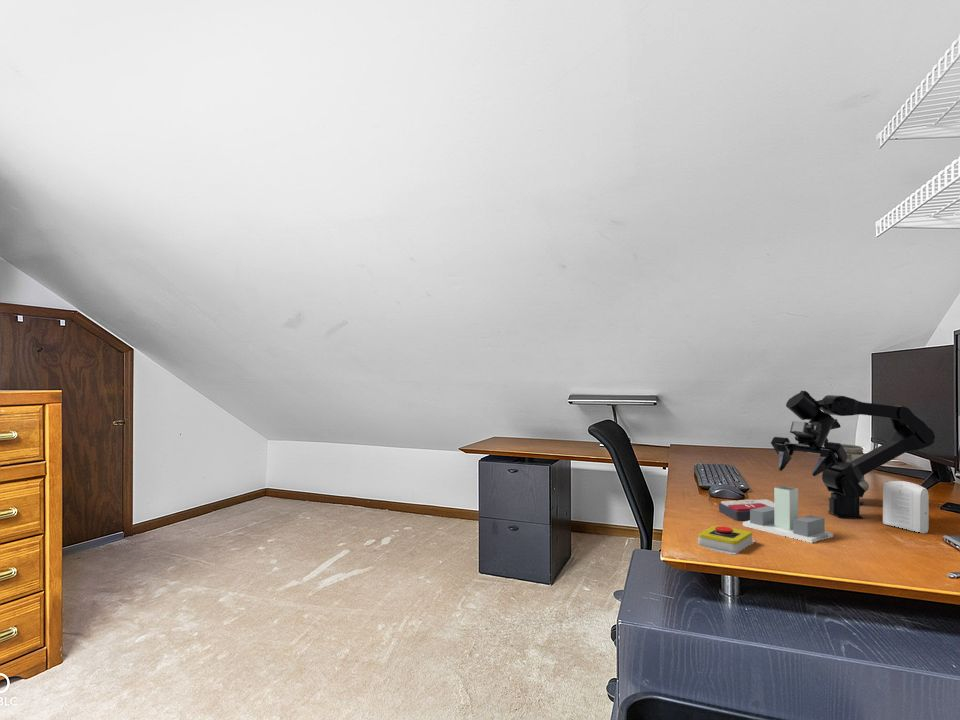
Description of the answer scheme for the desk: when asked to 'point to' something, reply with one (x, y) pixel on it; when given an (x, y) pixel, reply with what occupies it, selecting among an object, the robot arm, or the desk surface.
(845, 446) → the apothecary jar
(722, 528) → the emergency button
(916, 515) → the white rounded upright block
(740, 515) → the calculator
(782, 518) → the block
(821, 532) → the rail board
